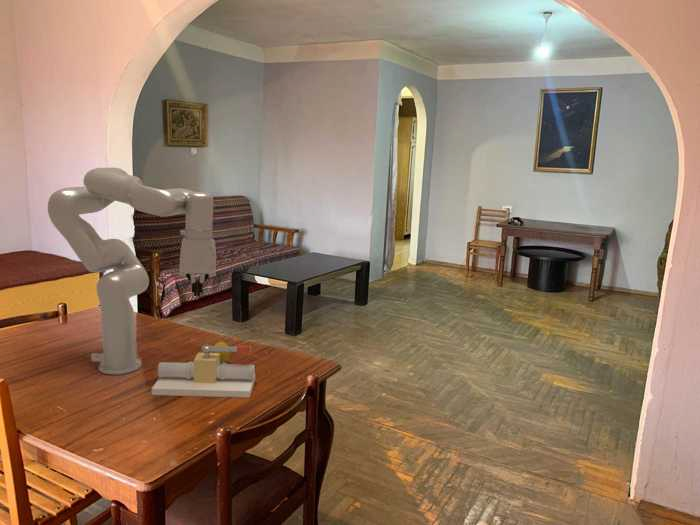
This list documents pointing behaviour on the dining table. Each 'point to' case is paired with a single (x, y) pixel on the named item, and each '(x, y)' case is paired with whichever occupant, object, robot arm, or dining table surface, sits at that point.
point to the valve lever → (227, 348)
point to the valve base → (203, 388)
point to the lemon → (222, 352)
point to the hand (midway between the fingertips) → (196, 294)
